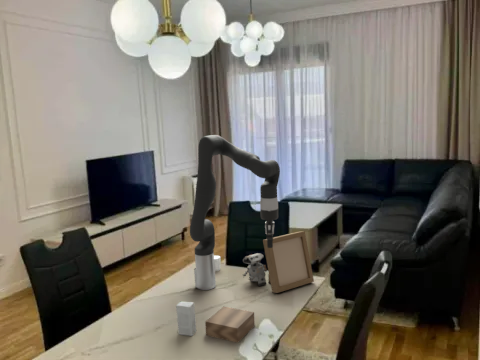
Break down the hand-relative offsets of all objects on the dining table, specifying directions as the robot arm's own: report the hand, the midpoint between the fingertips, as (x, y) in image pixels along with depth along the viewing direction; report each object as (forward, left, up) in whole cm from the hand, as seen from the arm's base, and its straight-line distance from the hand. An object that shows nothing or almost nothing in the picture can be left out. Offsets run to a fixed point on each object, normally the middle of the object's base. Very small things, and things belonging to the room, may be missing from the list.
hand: (270, 244), depth 188 cm
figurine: (-17, +18, -28) cm, 37 cm away
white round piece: (-46, +29, -28) cm, 61 cm away
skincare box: (-21, -35, -28) cm, 49 cm away
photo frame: (-2, +23, -28) cm, 36 cm away
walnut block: (-6, -27, -28) cm, 39 cm away
